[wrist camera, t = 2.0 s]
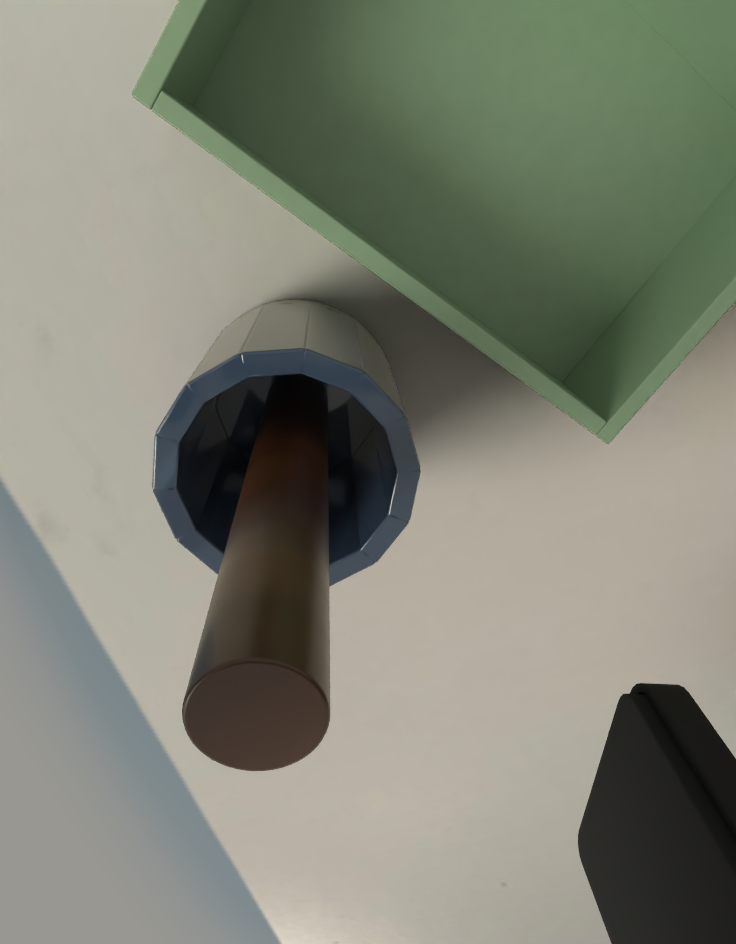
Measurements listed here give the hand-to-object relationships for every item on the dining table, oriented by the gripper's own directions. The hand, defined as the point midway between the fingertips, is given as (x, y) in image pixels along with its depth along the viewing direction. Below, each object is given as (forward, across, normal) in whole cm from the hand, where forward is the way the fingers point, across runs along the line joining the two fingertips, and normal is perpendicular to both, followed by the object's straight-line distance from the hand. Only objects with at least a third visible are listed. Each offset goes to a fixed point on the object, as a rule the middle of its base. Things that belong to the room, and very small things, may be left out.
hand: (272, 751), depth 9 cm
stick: (+14, 0, 0) cm, 14 cm away
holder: (+15, 0, 0) cm, 15 cm away
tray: (+15, -5, -9) cm, 18 cm away
